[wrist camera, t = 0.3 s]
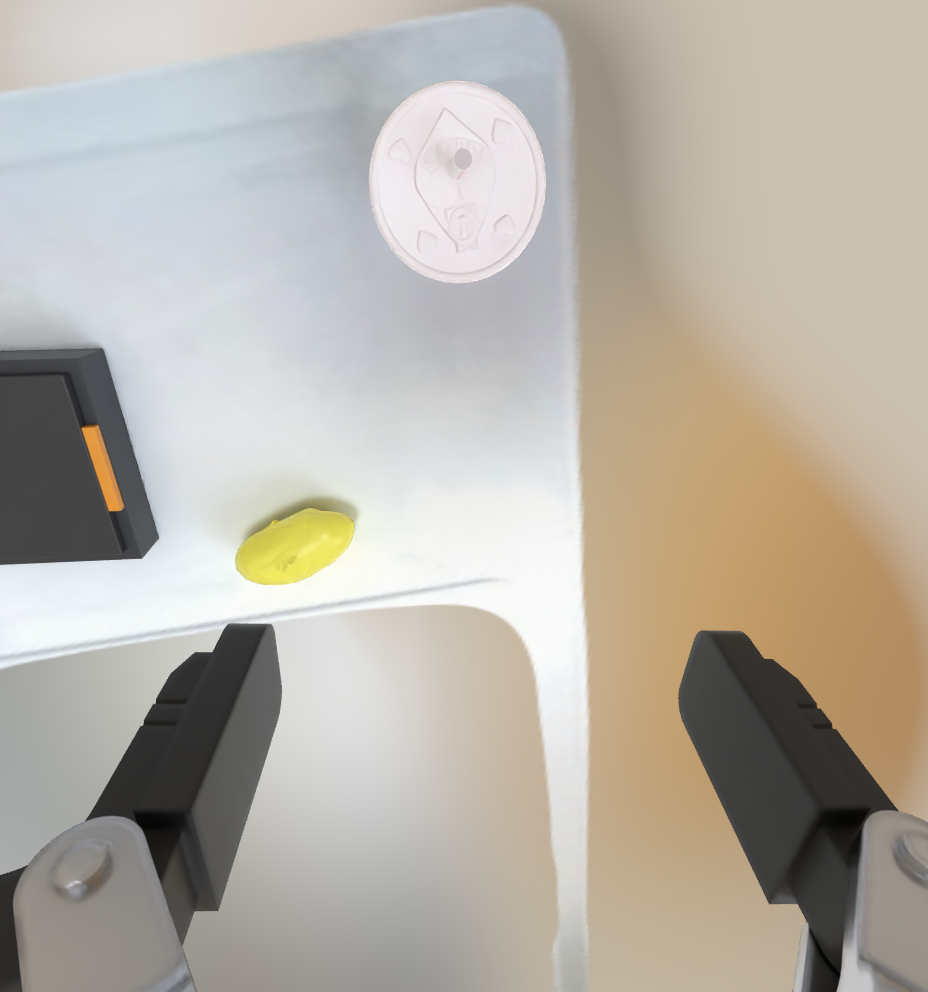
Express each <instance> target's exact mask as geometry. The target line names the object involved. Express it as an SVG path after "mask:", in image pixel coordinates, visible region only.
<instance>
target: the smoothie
mask: <svg viewBox="0 0 928 992" xmlns="http://www.w3.org/2000/svg"><path fill="white" fill-rule="evenodd" d="M369 194H370V201H371V208H372V210H373V214H374V217H375V220H376V223H377V225H378V228H379V231H380V233H381V234H382V236H383V237H384V239H385V241H386V242H387V244H388V245H389V246H390V248H391V250H392V251H393V252H394V253H395V254H396V255H397V256H398V257H399V258H400V259H401V260H402V261H403V262H404V263H405V264H406V265H407V266H409V267H410V268H411V269H413V270H415V271H417V272H418V273H420V274H422V275H424V276H426V277H428V278H430V279H434V280H438V281H441V282H447V283H469V282H475V281H479V280H482V279H485V278H488V277H490V276H492V275H494V274H496V273H498V272H500V271H501V270H503V269H504V268H506V267H507V266H508V265H509V264H511V263H512V262H513V261H514V260H515V259H516V258H517V257H518V256H519V255H520V254H521V253H522V252H523V250H524V249H525V247H526V246H527V245H528V243H529V242H530V240H531V238H532V237H533V235H534V233H535V231H536V229H537V226H538V224H539V221H540V218H541V215H542V212H543V207H544V202H545V195H546V170H545V163H544V158H543V154H542V150H541V147H540V144H539V141H538V139H537V137H536V134H535V132H534V130H533V129H532V127H531V125H530V123H529V122H528V120H527V119H526V117H525V116H524V115H523V114H522V112H521V111H520V110H519V109H518V108H517V107H516V106H515V105H514V104H513V103H512V102H511V101H510V100H508V99H507V98H506V97H505V96H503V95H502V94H500V93H499V92H497V91H495V90H493V89H491V88H489V87H487V86H484V85H481V84H478V83H474V82H469V81H445V82H440V83H436V84H432V85H430V86H427V87H425V88H422V89H421V90H419V91H417V92H415V93H413V94H412V95H411V96H409V97H408V98H406V99H405V100H404V101H403V102H402V103H401V104H400V105H399V106H398V107H397V108H396V109H395V110H394V111H393V112H392V114H391V115H390V116H389V118H388V119H387V120H386V122H385V124H384V125H383V127H382V129H381V131H380V133H379V135H378V137H377V140H376V143H375V145H374V148H373V152H372V156H371V161H370V168H369Z"/></svg>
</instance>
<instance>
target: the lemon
mask: <svg viewBox="0 0 928 992" xmlns="http://www.w3.org/2000/svg"><path fill="white" fill-rule="evenodd" d="M353 533H354V523H353V521H352V520H351V519H350V518H349V517H348V516H346V515H344V514H342V513H338V512H332V511H320V510H317V509H315V508H306V509H303V510H301V511H299V512H297V513H295V514H293V515H292V516H290V517H287V518H285V519H283V520H281V521H278V520H275V519H274V521H273V522H272V523H271V524H270V525H269V526H268V527H266V528H264V529H263V530H261V531H259V532H257V533H255V534H253V535H251V536H250V537H249V538H247V539H246V540H245V541H244V542H243V543H242V545H241V546H240V548H239V549H238V551H237V553H236V557H235V564H236V569H237V571H238V572H239V573H240V574H241V575H242V576H243V577H244V578H245V579H246V580H250V581H252V582H254V583H258V584H263V585H283V584H290V583H294V582H298V581H300V580H303V579H305V578H308V577H310V576H312V575H313V574H315V573H317V572H318V571H320V570H321V569H323V568H325V567H327V566H328V565H330V564H332V563H333V562H334V561H335V560H337V559H338V558H339V557H340V556H341V555H342V554H343V552H344V551H345V550H346V549H347V548H348V546H349V544H350V542H351V540H352V537H353Z"/></svg>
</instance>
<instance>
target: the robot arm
mask: <svg viewBox="0 0 928 992" xmlns="http://www.w3.org/2000/svg"><path fill="white" fill-rule="evenodd" d="M281 696H282V685H281V677H280V669H279V662H278V654H277V646H276V639H275V632H274V628H273V626H272V625H271V624H235V623H230V624H228V625H227V626H226V627H225V629H224V630H223V632H222V634H221V637H220V639H219V640H218V642H217V644H216V646H215V648H214V650H213V652H195V653H194V654H192V655H191V656H190V657H189V658H188V659H187V660H186V661H185V662H183V663H182V664H181V665H180V666H179V667H178V668H177V669H175V670H174V671H173V672H172V673H171V674H170V676H169V677H168V679H167V681H166V683H165V684H164V686H163V688H162V690H161V692H160V693H159V695H158V697H157V699H156V704H153V706H152V707H151V709H150V711H149V712H148V714H147V716H146V718H145V720H144V725H143V726H140V728H139V730H138V732H137V733H136V735H135V737H134V739H133V740H132V742H131V744H130V746H129V747H128V749H127V751H126V753H125V754H124V756H123V758H122V759H121V761H120V763H119V765H118V766H117V768H116V770H115V772H114V774H113V775H112V777H111V779H110V781H109V782H108V784H107V786H106V787H105V789H104V791H103V793H102V795H101V796H100V798H99V800H98V802H97V803H96V805H95V807H94V808H93V810H92V812H91V813H90V815H89V816H88V818H87V819H86V820H85V821H84V822H82V823H80V824H78V825H75V826H74V827H72V828H70V829H68V830H66V831H64V832H63V833H61V834H60V835H58V836H57V837H56V838H54V839H53V840H52V841H51V842H50V843H48V844H47V845H46V846H45V847H44V848H42V849H41V850H40V852H39V853H38V854H37V855H36V856H35V857H34V858H33V859H32V861H31V862H30V863H29V865H27V866H25V867H23V868H20V869H17V870H15V871H12V872H9V873H6V874H3V875H0V992H197V990H196V987H195V984H194V980H193V977H192V974H191V971H190V968H189V965H188V962H187V959H186V956H185V953H184V950H183V947H182V945H183V943H184V940H185V937H186V934H187V931H188V928H189V925H190V922H191V919H192V917H193V913H194V911H218V910H219V907H220V904H221V900H222V897H223V894H224V891H225V887H226V884H227V881H228V878H229V875H230V872H231V868H232V865H233V862H234V859H235V856H236V852H237V849H238V846H239V843H240V840H241V836H242V833H243V830H244V827H245V824H246V820H247V817H248V814H249V811H250V807H251V804H252V801H253V798H254V795H255V792H256V788H257V785H258V782H259V779H260V776H261V772H262V769H263V766H264V763H265V760H266V756H267V753H268V750H269V747H270V743H271V740H272V737H273V734H274V731H275V727H276V724H277V721H278V717H279V713H280V706H281V698H282V697H281ZM678 699H679V709H680V714H681V718H682V721H683V723H684V725H685V727H686V730H687V732H688V734H689V736H690V738H691V740H692V742H693V744H694V747H695V749H696V751H697V752H698V755H699V757H700V759H701V761H702V763H703V766H704V768H705V770H706V772H707V774H708V776H709V778H710V780H711V782H712V785H713V787H714V789H715V791H716V793H717V795H718V797H719V799H720V801H721V804H722V806H723V808H724V810H725V812H726V814H727V816H728V818H729V820H730V823H731V825H732V827H733V829H734V831H735V833H736V835H737V837H738V839H739V841H740V843H741V846H742V848H743V850H744V852H745V854H746V856H747V858H748V861H749V863H750V865H751V867H752V869H753V871H754V873H755V875H756V877H757V879H758V881H759V884H760V886H761V888H762V890H763V892H764V894H765V896H766V898H767V901H768V903H769V904H798V905H799V907H800V909H801V911H802V913H803V915H804V917H805V919H806V921H805V923H804V925H803V927H802V929H801V933H800V941H799V948H798V954H797V961H796V968H795V976H794V984H793V990H792V992H928V822H926V821H924V820H922V819H920V818H917V817H915V816H913V815H910V814H907V813H903V812H899V811H898V810H897V808H896V807H895V806H894V805H893V803H892V802H891V801H890V799H889V798H888V797H887V796H886V794H885V793H884V791H883V790H882V789H881V788H880V786H879V785H878V784H877V782H876V781H875V780H874V778H873V777H872V776H871V774H870V773H869V772H868V770H867V769H866V768H865V767H864V765H863V764H862V763H861V761H860V760H859V759H858V757H857V756H856V755H855V753H854V752H853V751H852V750H851V748H850V747H849V745H848V744H847V743H846V742H845V740H844V739H843V738H842V736H841V735H840V734H839V732H838V731H837V730H836V729H833V728H832V723H831V722H830V720H829V719H828V718H827V717H826V715H825V714H824V713H823V712H822V710H821V709H818V708H817V703H816V702H815V701H814V699H813V698H812V697H811V695H810V694H809V693H808V692H807V690H806V689H805V688H804V686H803V685H802V684H801V682H800V681H799V680H798V679H797V678H796V677H794V676H793V675H792V674H790V673H789V672H788V671H787V670H785V669H784V668H783V667H781V666H780V665H779V664H778V663H777V662H775V661H774V660H773V659H764V658H763V657H762V655H761V654H760V652H759V651H758V650H757V648H756V647H755V646H754V644H753V643H752V641H751V640H750V639H749V637H748V636H747V635H746V634H745V633H743V632H741V631H700V632H698V633H697V635H696V637H695V639H694V642H693V645H692V649H691V652H690V655H689V658H688V662H687V665H686V668H685V671H684V675H683V678H682V681H681V685H680V688H679V697H678Z"/></svg>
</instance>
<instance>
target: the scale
mask: <svg viewBox="0 0 928 992" xmlns="http://www.w3.org/2000/svg"><path fill="white" fill-rule="evenodd" d="M158 539H159V538H158V534H157V531H156V527H155V524H154V521H153V517H152V514H151V510H150V507H149V504H148V500H147V497H146V493H145V490H144V487H143V483H142V480H141V477H140V473H139V470H138V466H137V463H136V460H135V456H134V453H133V449H132V446H131V443H130V439H129V436H128V432H127V429H126V426H125V422H124V419H123V415H122V412H121V409H120V405H119V402H118V399H117V395H116V392H115V388H114V385H113V382H112V378H111V375H110V371H109V368H108V365H107V361H106V358H105V354H104V351H103V349H72V350H33V351H0V565H6V564H29V563H52V562H75V561H97V560H120V559H142V558H143V557H144V556H145V554H146V553H147V552H148V551H149V550H150V548H151V547H152V546H153V545H154V544H155V542H156V541H157V540H158Z"/></svg>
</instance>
